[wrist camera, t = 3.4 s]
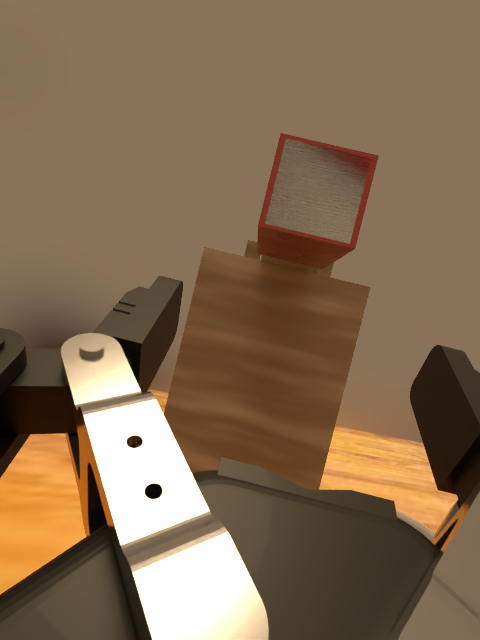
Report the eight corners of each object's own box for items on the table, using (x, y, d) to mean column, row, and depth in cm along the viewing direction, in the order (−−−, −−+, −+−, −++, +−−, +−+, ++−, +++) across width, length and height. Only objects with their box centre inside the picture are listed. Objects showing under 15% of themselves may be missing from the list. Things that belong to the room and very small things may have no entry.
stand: (274, 735, 28) (393, 272, 27) (82, 683, 29) (192, 224, 28) (266, 581, 44) (341, 286, 43) (143, 549, 45) (214, 255, 44)
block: (355, 248, 16) (409, 34, 16) (258, 225, 16) (310, 13, 16) (286, 291, 52) (303, 226, 52) (256, 284, 52) (272, 218, 52)
